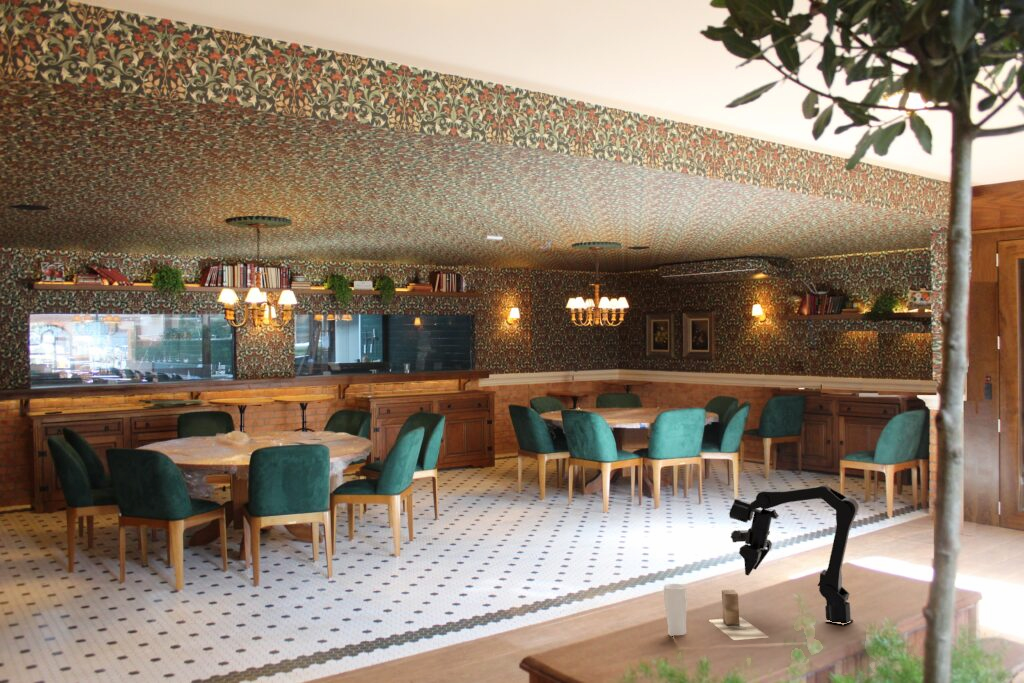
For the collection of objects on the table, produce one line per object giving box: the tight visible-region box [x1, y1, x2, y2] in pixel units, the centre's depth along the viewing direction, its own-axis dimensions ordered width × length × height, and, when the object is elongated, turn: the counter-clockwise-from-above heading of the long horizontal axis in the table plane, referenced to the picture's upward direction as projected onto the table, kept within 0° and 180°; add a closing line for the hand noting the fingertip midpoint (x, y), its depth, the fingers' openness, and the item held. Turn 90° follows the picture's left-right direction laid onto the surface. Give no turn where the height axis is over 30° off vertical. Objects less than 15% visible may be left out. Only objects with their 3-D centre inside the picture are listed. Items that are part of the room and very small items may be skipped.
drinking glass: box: [663, 583, 688, 638], centre depth 263 cm, size 7×7×15 cm
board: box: [708, 616, 770, 641], centre depth 265 cm, size 22×11×1 cm, turn 7°
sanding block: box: [721, 589, 740, 626], centre depth 270 cm, size 4×5×10 cm
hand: (750, 572), depth 283 cm, fingers open, 9 cm apart
